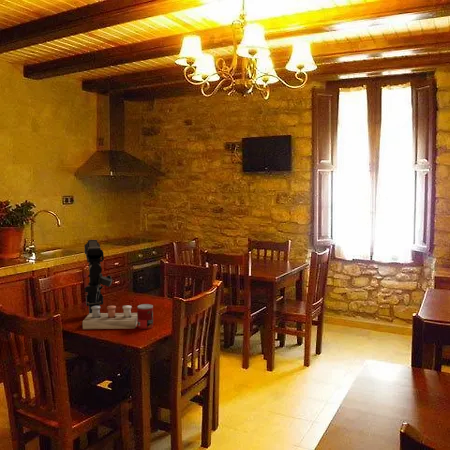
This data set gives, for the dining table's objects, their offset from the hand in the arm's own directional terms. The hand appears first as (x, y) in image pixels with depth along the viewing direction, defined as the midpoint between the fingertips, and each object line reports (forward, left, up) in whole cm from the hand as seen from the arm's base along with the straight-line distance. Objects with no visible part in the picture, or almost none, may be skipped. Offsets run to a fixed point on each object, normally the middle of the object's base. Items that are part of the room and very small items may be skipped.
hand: (95, 301), depth 233 cm
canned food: (+5, +26, -12) cm, 29 cm away
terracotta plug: (0, +8, -9) cm, 12 cm away
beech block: (0, +8, -12) cm, 14 cm away
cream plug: (0, +16, -9) cm, 18 cm away
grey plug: (0, 0, -8) cm, 8 cm away
